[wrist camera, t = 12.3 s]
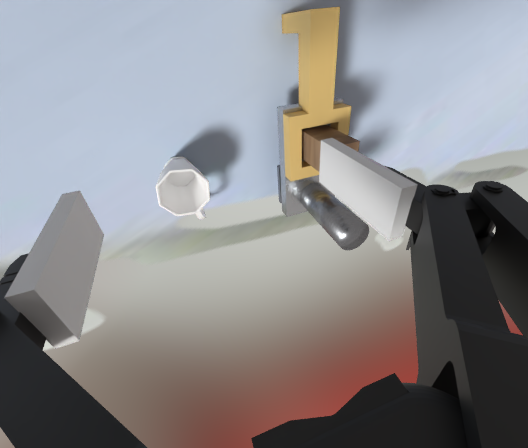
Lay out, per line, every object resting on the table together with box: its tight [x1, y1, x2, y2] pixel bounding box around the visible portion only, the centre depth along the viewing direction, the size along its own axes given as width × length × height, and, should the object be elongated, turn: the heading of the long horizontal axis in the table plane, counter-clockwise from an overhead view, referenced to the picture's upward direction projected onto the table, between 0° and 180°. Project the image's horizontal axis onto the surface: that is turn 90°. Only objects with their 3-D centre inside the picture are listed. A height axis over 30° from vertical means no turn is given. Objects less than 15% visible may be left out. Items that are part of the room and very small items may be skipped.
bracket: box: [282, 7, 351, 181], centre depth 38 cm, size 20×9×8 cm, turn 5°
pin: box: [302, 125, 360, 172], centre depth 38 cm, size 4×4×14 cm
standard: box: [277, 97, 369, 250], centre depth 39 cm, size 18×9×18 cm, turn 5°
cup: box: [156, 157, 210, 220], centre depth 39 cm, size 7×10×8 cm
